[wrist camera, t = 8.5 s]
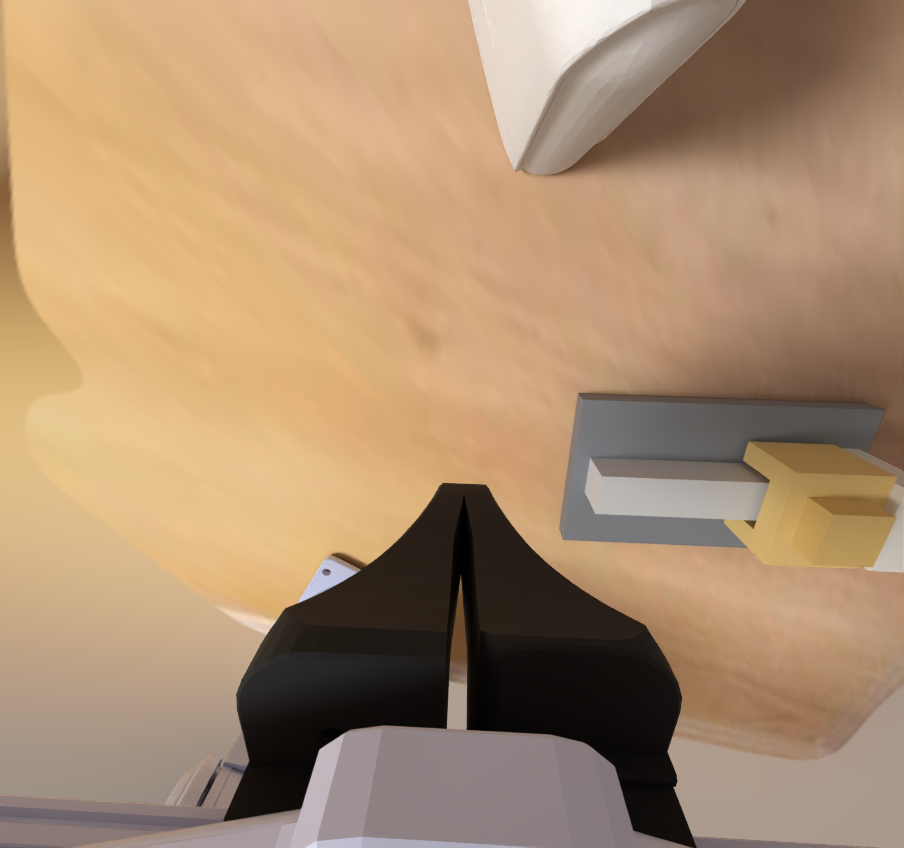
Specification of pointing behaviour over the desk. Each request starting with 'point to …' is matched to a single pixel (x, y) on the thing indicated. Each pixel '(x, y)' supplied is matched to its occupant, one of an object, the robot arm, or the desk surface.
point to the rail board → (691, 442)
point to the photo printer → (581, 66)
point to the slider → (817, 507)
